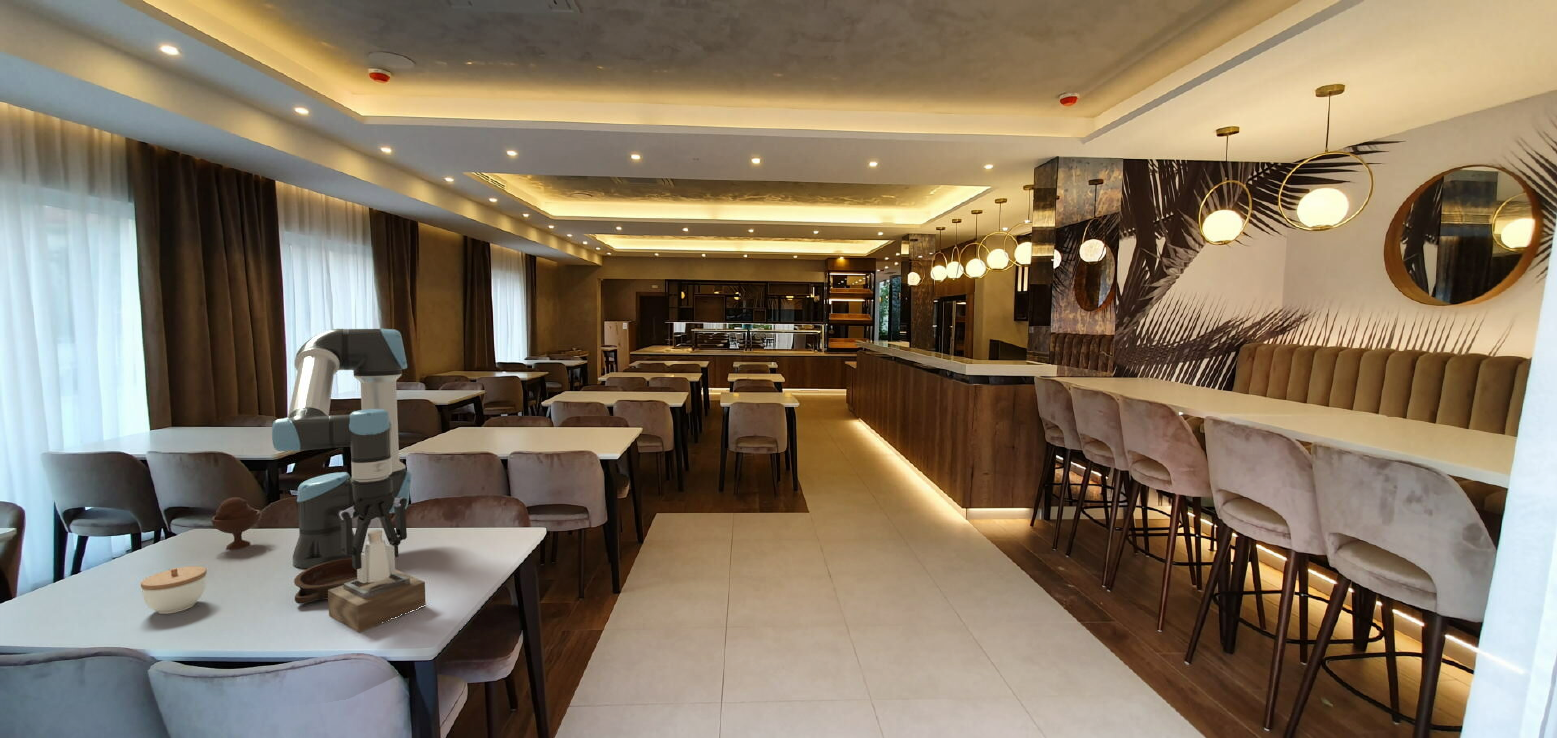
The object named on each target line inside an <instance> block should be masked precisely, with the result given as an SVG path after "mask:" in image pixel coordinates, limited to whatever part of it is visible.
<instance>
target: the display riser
mask: <svg viewBox="0 0 1557 738" xmlns="http://www.w3.org/2000/svg"><path fill="white" fill-rule="evenodd" d="M327 601H328V617H330V618H333V620H336V621H338V622H340V623H342V624H343V625H345V626H347V627H348V628H350V629H352V630H354V631H356V632H357V633H362V632H365V631H366V630H369V628H370V629H372V628H374V627H377V626H379V624H380V625H382V624H383V623H382V622H385V623H387V622H389V621H388V620H390V619H391V618H395V617H398V616H400V615H401V614H405V613H408V612H410V611H412V610H416V609H418V608H419V607H421V606H424V605H426V604H427V602H426V582H425V581H423V580H422V579H419V578H416V577H414V576H412V575H411V574H410V575H409V574H407V573H404V572H402V571H400V570H398V569H396V568H395V573H393V574H391V573H390V576H389V578H387V579H384V580H382V581H379V582H372V583H368V582H366V583H361V582H359V581H358V580H357V579H356V580H353V581H350V582H347V583H344V584H343V585H342V586H339V587H336V588H333V589H330V590H328V599H327ZM418 610H419V609H418ZM416 611H417V610H416ZM408 614H409V613H408ZM405 615H406V614H405ZM400 617H401V616H400ZM398 618H399V617H398ZM395 619H396V618H395ZM386 621H387V622H386ZM390 621H391V620H390ZM381 623H382V624H381ZM371 627H372V628H371Z"/></svg>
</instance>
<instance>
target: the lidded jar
mask: <svg viewBox="0 0 1557 738" xmlns="http://www.w3.org/2000/svg"><path fill="white" fill-rule="evenodd" d="M207 575H208V574H207V568H205V566H204V567H203V566H195V565H194V566H183V567H179V568H178V567H173V568H172V567H171V569H169V570H165V571H161V572H158V573H155V574H153V575H150V576H148V577H146V578H144V579H143V580H141V582H140V587H141V593H142V594H141V595H142V597H143V600H144V603H145V604H146V606H147V607H148V608H149V609H151V610H153V611H155V612H157V613H158V614H160V615H169V614H174V613H179V612H182V611H185V610H188V609H190V608H192V607H194V606H195V604H196V602H198V601H199V600H200V599H201V598H202V596H203V595H204V592H205V591H206V588H207Z"/></svg>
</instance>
